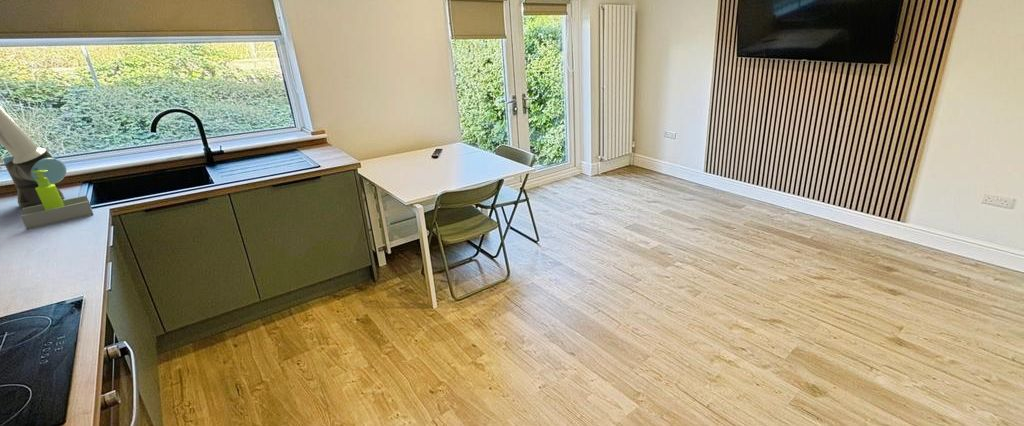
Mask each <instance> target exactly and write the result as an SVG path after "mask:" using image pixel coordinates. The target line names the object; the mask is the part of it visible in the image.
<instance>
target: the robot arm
mask: <svg viewBox="0 0 1024 426" xmlns="http://www.w3.org/2000/svg"><path fill="white" fill-rule="evenodd" d="M0 144H1V146H3V148H4V149H5V150H7V151H8V153H9V154H10V155H9V156H8V155H7V156H5V157H3V158H2V156H0V164H3V163H4V167H5V168H6V170H7V172H8V174H9V176H10V178H11V180H12V182H13V184H14V186H15V188H16V190H17V205H18V206H19V208H21V209H22V208H27V207H32V206H37V205H41V204H42V202H41V200H40V198H39V196H38V193H37V191H36V189H35V188H37V187H39V186H38V184H37V181H36V179H37V178H38V177H37V175H36V173H33V171H36V170H47V171H48V172H46V173H42V174H43V176H44V177H47V178H48V180H49V183H50V184H54V185H56V184H57V183H59V182H61V181H62V180H64V178H66V174H67V167H66V164H64V162H63V161H61V160H60V159H57V158H55V157H54V156H53V155H51V153H49V151H48V150H47V149H46V148H42V147H39V146H37V144H36V143H35V142H34V141H33V140H32V139H31V137H29V136H28V134H27V133H26V132H25V131H24V130H23V128H21V126H19V125H18V123H17V122H16V121H15V120H14V119H13V118H12V117H11V116H10V115H9V113H7V112H6V110H5V109H4V108H3V107H2V106H1V105H0ZM0 170H3V167H2V165H0ZM56 188H57V190H58V192H59V195H60V197H61V199H62V200H65V195H64V193H63V192H62V190H60V189H59V188H58V187H57V186H56Z"/></svg>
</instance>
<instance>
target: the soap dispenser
mask: <svg viewBox="0 0 1024 426" xmlns="http://www.w3.org/2000/svg"><path fill="white" fill-rule="evenodd" d="M46 172H48V171H47V170H36V171H33V173H36V175H37V177H38V178H37V179H36V181H37V184H38V186H39V187H37V188H35V189H36V191H37V193H38V196H39V198H40V200H41V202H42V204H43V206H44V208H45V210H48V209H53V208H58V207H62V206H65V205H64V203H63V201H62V200H63V199H61V197H60V195H59V192H58V190H57V188H58V187H57V186H56V184H50V183H49V180H48V178H47V177H44V176H43V174H42V173H46ZM56 187H57V188H56Z"/></svg>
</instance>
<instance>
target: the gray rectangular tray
mask: <svg viewBox="0 0 1024 426" xmlns="http://www.w3.org/2000/svg"><path fill="white" fill-rule="evenodd" d="M62 201H63V203H64V205H65V206H62V207H58V208H53V209H48V210H45V208H44V206H43V204H41V205H37V206H32V207H27V208H21V210H22V213H23V214H21V215H20V218H21V220H22V221H23V222H22V223H23V224H24V225H25V228H26V230H27V231H29V230H34V229H38V228H43V227H46V226H51V225H54V224H55V225H56V224H59V223H64V222H68V221H73V220H78V219H81V218H86V216H87V217H90V216H89V215H91V216H94V212H93V207H92V205H91V203H90V201H89V199H88V196H87V195H81V196H76V197H72V198H66V199H62ZM91 207H92V208H91Z"/></svg>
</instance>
